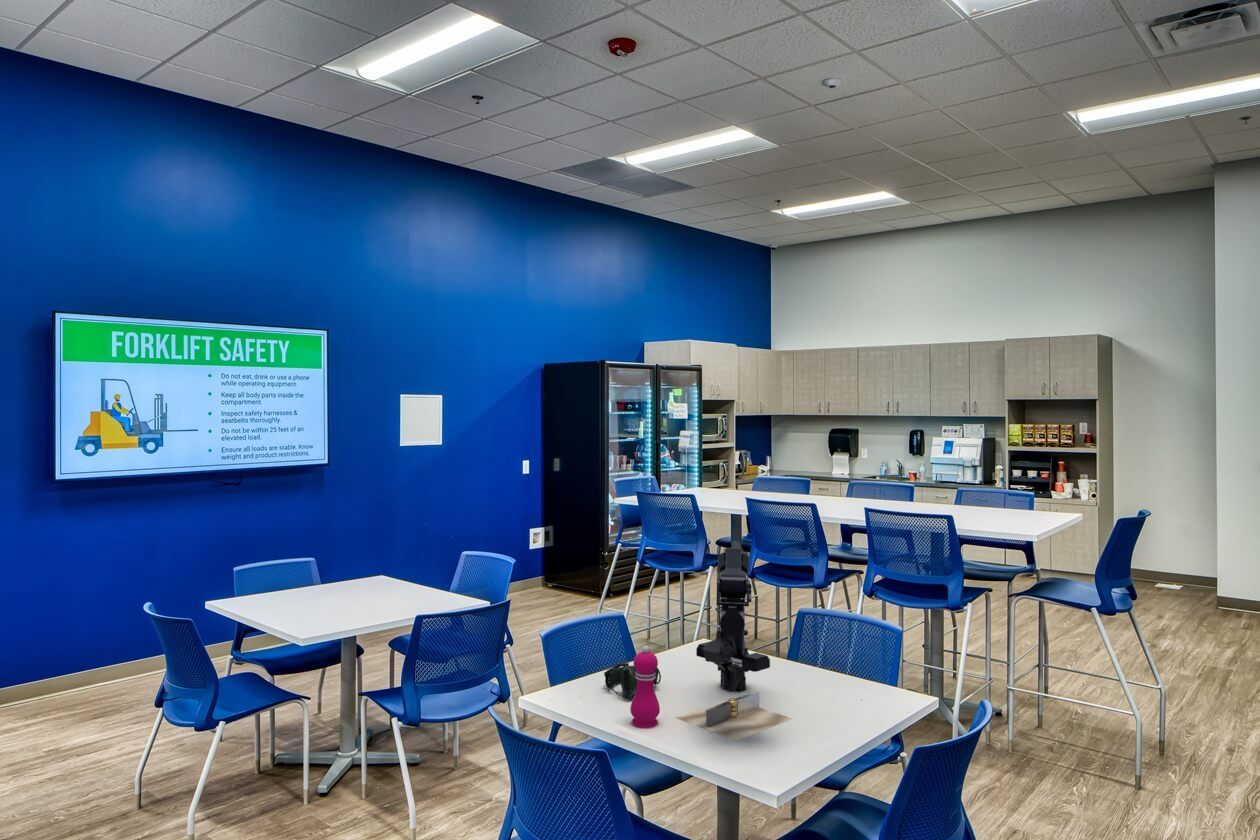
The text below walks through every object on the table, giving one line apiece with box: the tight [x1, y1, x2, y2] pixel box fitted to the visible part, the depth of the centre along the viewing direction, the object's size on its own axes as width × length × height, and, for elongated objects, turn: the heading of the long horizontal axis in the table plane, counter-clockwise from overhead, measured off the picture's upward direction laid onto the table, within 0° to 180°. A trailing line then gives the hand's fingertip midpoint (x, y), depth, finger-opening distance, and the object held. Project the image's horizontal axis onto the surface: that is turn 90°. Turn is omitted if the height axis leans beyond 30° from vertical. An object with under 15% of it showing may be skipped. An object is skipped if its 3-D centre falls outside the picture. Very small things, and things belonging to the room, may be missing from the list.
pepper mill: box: [629, 645, 661, 729], centre depth 201 cm, size 7×7×20 cm
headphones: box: [603, 662, 662, 700], centre depth 229 cm, size 13×13×20 cm
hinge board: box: [674, 699, 794, 741], centre depth 206 cm, size 20×22×1 cm
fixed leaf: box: [727, 691, 760, 718], centre depth 210 cm, size 11×2×4 cm, turn 133°
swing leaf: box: [706, 702, 737, 726], centre depth 203 cm, size 11×2×4 cm, turn 138°
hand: (731, 691), depth 196 cm, fingers closed
